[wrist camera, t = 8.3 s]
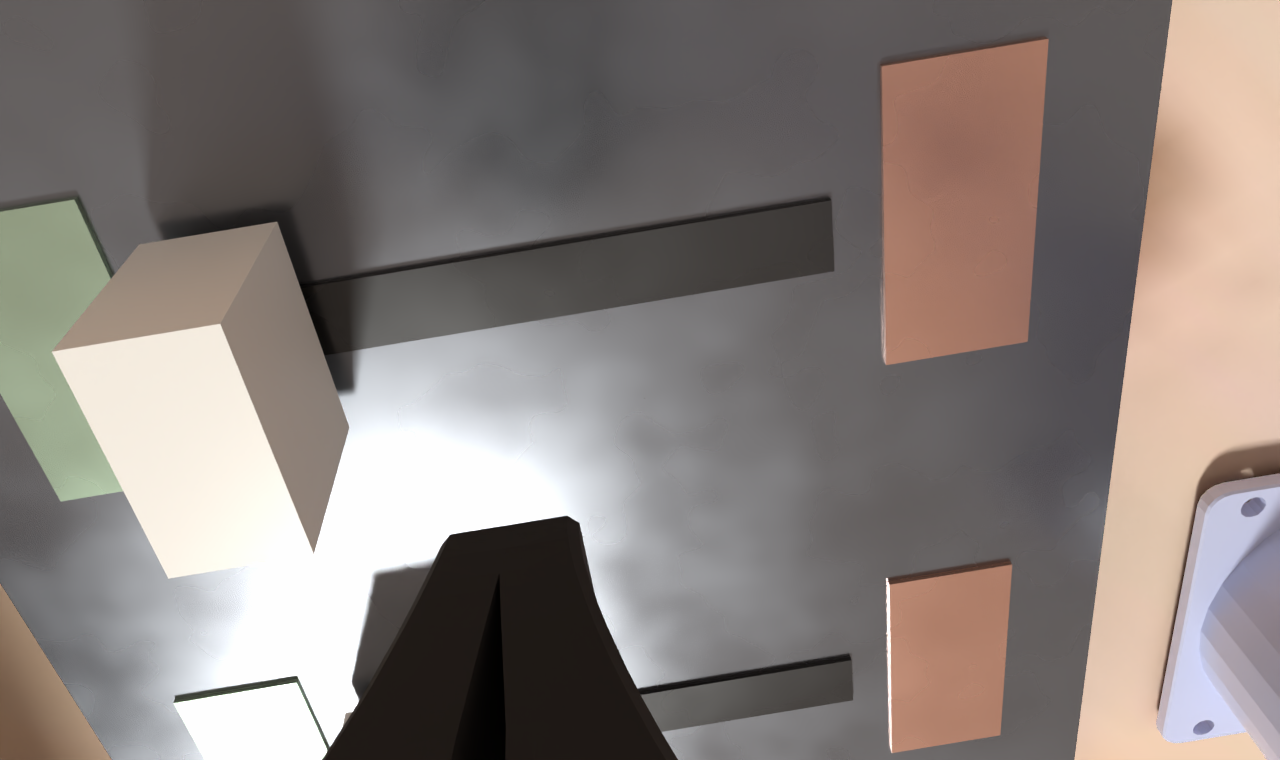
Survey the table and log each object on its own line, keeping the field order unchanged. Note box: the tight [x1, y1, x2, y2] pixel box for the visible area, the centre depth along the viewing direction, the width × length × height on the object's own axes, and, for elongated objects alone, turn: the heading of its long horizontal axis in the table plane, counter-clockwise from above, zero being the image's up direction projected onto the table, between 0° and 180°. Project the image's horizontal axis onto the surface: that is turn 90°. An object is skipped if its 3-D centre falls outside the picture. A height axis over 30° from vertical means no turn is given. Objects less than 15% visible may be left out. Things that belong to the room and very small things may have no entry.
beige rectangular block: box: [52, 222, 349, 579], centre depth 14 cm, size 2×4×3 cm, turn 8°
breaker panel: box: [0, 0, 1172, 760], centre depth 19 cm, size 20×24×2 cm
